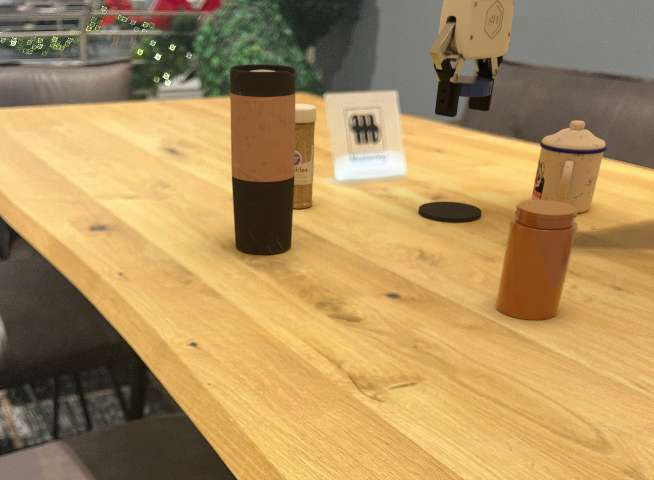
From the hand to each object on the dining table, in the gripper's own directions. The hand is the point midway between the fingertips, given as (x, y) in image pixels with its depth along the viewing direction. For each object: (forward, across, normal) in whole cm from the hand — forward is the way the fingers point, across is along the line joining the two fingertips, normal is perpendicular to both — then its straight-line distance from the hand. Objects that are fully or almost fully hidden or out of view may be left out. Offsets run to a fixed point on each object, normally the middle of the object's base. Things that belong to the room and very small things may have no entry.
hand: (462, 111), depth 103 cm
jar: (+13, -24, -28) cm, 39 cm away
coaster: (+13, 0, 0) cm, 13 cm away
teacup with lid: (+14, +15, -10) cm, 22 cm away
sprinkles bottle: (+14, -14, +18) cm, 26 cm away
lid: (-4, 0, 0) cm, 4 cm away
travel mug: (+14, -31, +6) cm, 34 cm away
